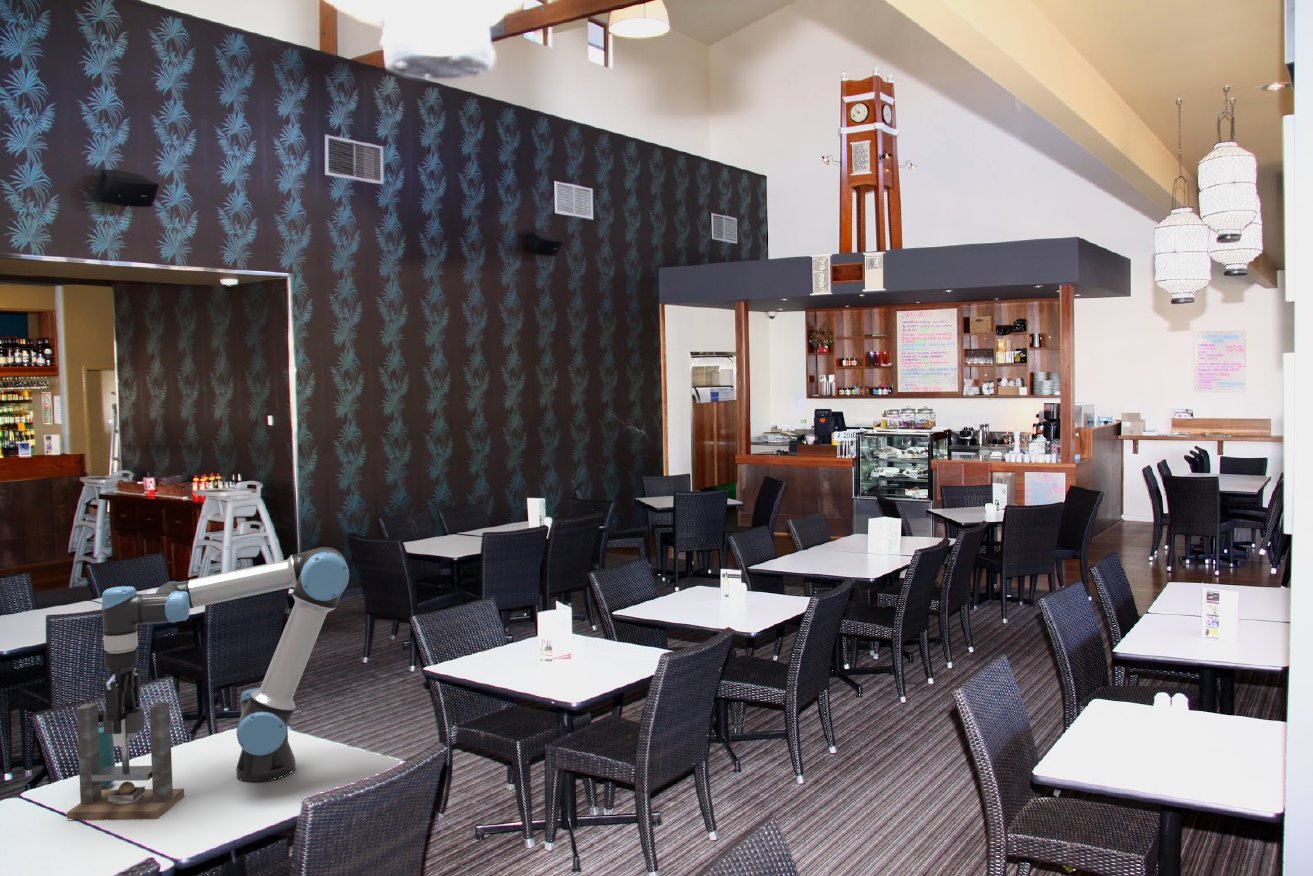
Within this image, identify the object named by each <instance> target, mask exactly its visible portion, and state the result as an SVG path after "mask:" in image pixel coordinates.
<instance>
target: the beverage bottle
mask: <svg viewBox="0 0 1313 876" xmlns="http://www.w3.org/2000/svg"><path fill="white" fill-rule="evenodd" d="M104 713H106V710H105V711H98V723H99V747H100V769H102V768H103V767H105V766H116V763H115V746H114V742H113V734H104V721H103V714H104ZM112 783H114V781H101V787H102V786H107V785H110V784H112Z"/></svg>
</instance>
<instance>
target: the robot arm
mask: <svg viewBox="0 0 1313 876" xmlns="http://www.w3.org/2000/svg"><path fill="white" fill-rule="evenodd" d="M349 580H350V570H349V566H348V564H347V561H346V558H345V557H344V555H343V554H342V553H341V552H340V551H339V550H337V549H335V548H332V547H327V546H323V547H318V548H317V547H316V548H314V549H310V550H307V551H304V552H300V553H295V554H290V556H289V557H288V558H287V559H285V560H280V561H275V562H270V563H266V564H260V565H255V566H250V567H246V568H241V569H237V570H231V571H226V572H222V573H221V572H220V573H216V574H212V575H207V576H202V577H197V578H192V579H189V580H188V579H187V580H183V581H168V582H166V583H163V585H161V586H159V587H158V589H157V590H156V591H155V592H154V593H143V594H142V593H141V594H140V593H137V589H136V588H135V587H134V586H130V585H129V586H124V585H121V586H114V587H110V588H106V589H105V590H104V591H103V592H102V594H101V595H102V596H101V597H102V598H101V601H102V602H101V603H102V604H101V606H102V607H101V614H102V629H103V631H102V632H103V633H102V634H103V637H102V640H103V650H104V651H105V652H104V653H103V659H104V660H103V661H104V664H103V665H104V667H105V668H106V669H109V671H110V672H109V680H108V681H103V683H102V686H103V689H104V697H105V701H104V702H105V712H106V717H107V721H113V745H114V747H121V746H125V745H126V729H125V719H123V709H137V708H140V706H141V693H140V689H141V688H140V677H141V676H140V675H141V668H137V667H135V665H137V664H138V663H139V661H140V660H139V649H138V648H137V647H138V646H139V637H138V625H149V624H150V625H151V624H166V623H177V622H183V621H187V619H189V617H190V609H194V608H195V609H196V608H199V607H204V606H208V605H213V604H218V603H223V602H228V601H233V600H236V599H241V598H247V597H252V596H256V595H261V594H265V593H271V592H274V591H279V590H280V591H281V590H283V589H284V590H285V589H288V588H294V589H293V592H292V597H293V599H294V604H293V607H292V610H291V611H290V613H289V614H290V615H289V616H288V620H287V622H286V623H285V626H284V629H283V632H282V634H281V637H280V639H279V642H278V644H277V646H276V649H275V651H274V653H273V655H272V658H271V661H270V663H269V665H268V668H267V670H266V673H265V676H264V678H263V681H262V683H261V685H260V687H256V688H250V689H247V690H244V691H243V692H242V693H241V694H240V700H239V702H240V709H241V711H240V718H239V722H238V725H237V727H236V738H237V741H238V744H239V746H240V747H241V751H240V753H239V758H238V761H237V764H236V769H235V772H236V773H235V774H236V775H237V776H236V778H237V779H238V778H239V779H238V780H240V779H241V780H240V781H242V780H243V781H244V782H247V783H248V782H249V783H257V782H258V783H259V782H260V783H261V781H262V782H269V781H272V780H271V779H274V778H278V779H280V778H279V777H281V776H284V775H286V774H289V773H290V772H291V771H293V770H294V769H295V767H296V766H297V765H296V763H297V762H296V757H295V755H294V753H293V750H292V748H291V745H290V742H289V735H288V733H289V731H288V729H289V728H288V727H289V724H290V722H291V719H292V716H293V714H294V712H295V710H296V704H295V702H294V695H295V693H296V691H297V689H298V685H299V684H300V681H301V679H302V677H303V674H304V671H305V669H306V667H307V665H308V664H307V663H308V661H309V659H310V657H311V653H312V652H313V649H314V647H315V645H316V642H317V639H318V636H319V634H320V633H321V629H322V626H323V624H324V622H325V620H326V617H327V614H328V613H329V612H332V611H334V610H336V608H337V605H338V603H339V601H340V599H341V596H342V593H343V592H344V591H345V590H346V588H347V587H348V584H349ZM136 739H137V733H128V741H129V740H130V741H131V740H134V741H136ZM296 768H297V767H296ZM295 770H296V769H295ZM295 770H294V771H295ZM294 771H293V772H294ZM289 775H290V774H289ZM284 777H285V776H284ZM281 778H282V777H281ZM268 780H269V781H268ZM274 780H275V779H274ZM243 781H242V782H243Z"/></svg>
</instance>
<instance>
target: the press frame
mask: <svg viewBox="0 0 1313 876" xmlns="http://www.w3.org/2000/svg"><path fill="white" fill-rule="evenodd" d="M98 704H99V703H84V704H83V705H80V706H79V707H77V708H76V722H77V748H78V749H77V750H78V773H79V795H80V797H79V798H80V802H79V803H78V804H77V805H76V806H74V807H72V808H71V809H70V810H69V811H67V812H66V820H67V819H78V820H77V821H107V820H106V819H108V821H111V820H113V821H114V820H120V821H121V820H156V819H157V820H158V819H160V818H161V817H162V816H163V815H164V814H165V813H166V812H167V811H168V810H170V809H171V808H172V807H174V805H176V804H178V802H180V801H181V800H182V799H183V798H184V797H185V788H174V787H173V765H172V762H173V761H172V738H171V714H170V713H171V712H170V710H171V709H170V707H171V706H170V702H169V701H167V702H165V701H163V702H161V701H160V702H156V703H155V704H152V705H151V706H149V725H150V728H149V729H150V731H149V733H150V754H151V755H150V756H151V758H150V760H151V766H152V778H151V779H152V780H151V782H152V783H151V785H152V788H146V787H145V786H135V790H134V792H133V794H131V795H120V794H119V788H117V789H102V786H101V781H92V780H91V775H93V774H94V773H96V772H97V771H99V770H100V747H99V724H100V723H98V712H99V705H98ZM83 819H84V820H83ZM87 819H88V820H87ZM97 819H99V820H97Z"/></svg>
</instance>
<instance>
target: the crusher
mask: <svg viewBox="0 0 1313 876" xmlns="http://www.w3.org/2000/svg"><path fill="white" fill-rule="evenodd" d="M123 719H125V729H126V745H125V746H120V747H121V749H120V750H121V765H118V766H116V765H115V766H105V767H103V768H102V769H100V770H99V771H97V772H96V773H94V774H93V775H91V780H92V781H113V782H131V781H132V782H133V781H134V782H135V781H137V782H139V781H149V780H151V779H152V765H130V750H129V749H130V747H129V746H130V745H129V744H130V743H129V740H128V733H136V734H138V733H139V732H140V731H142V730H143V729H145V708H140V707H139V708H136V709H123ZM103 721H104V722H103V723H104V734H113V721H107V717H106V713H104V714H103Z"/></svg>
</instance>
